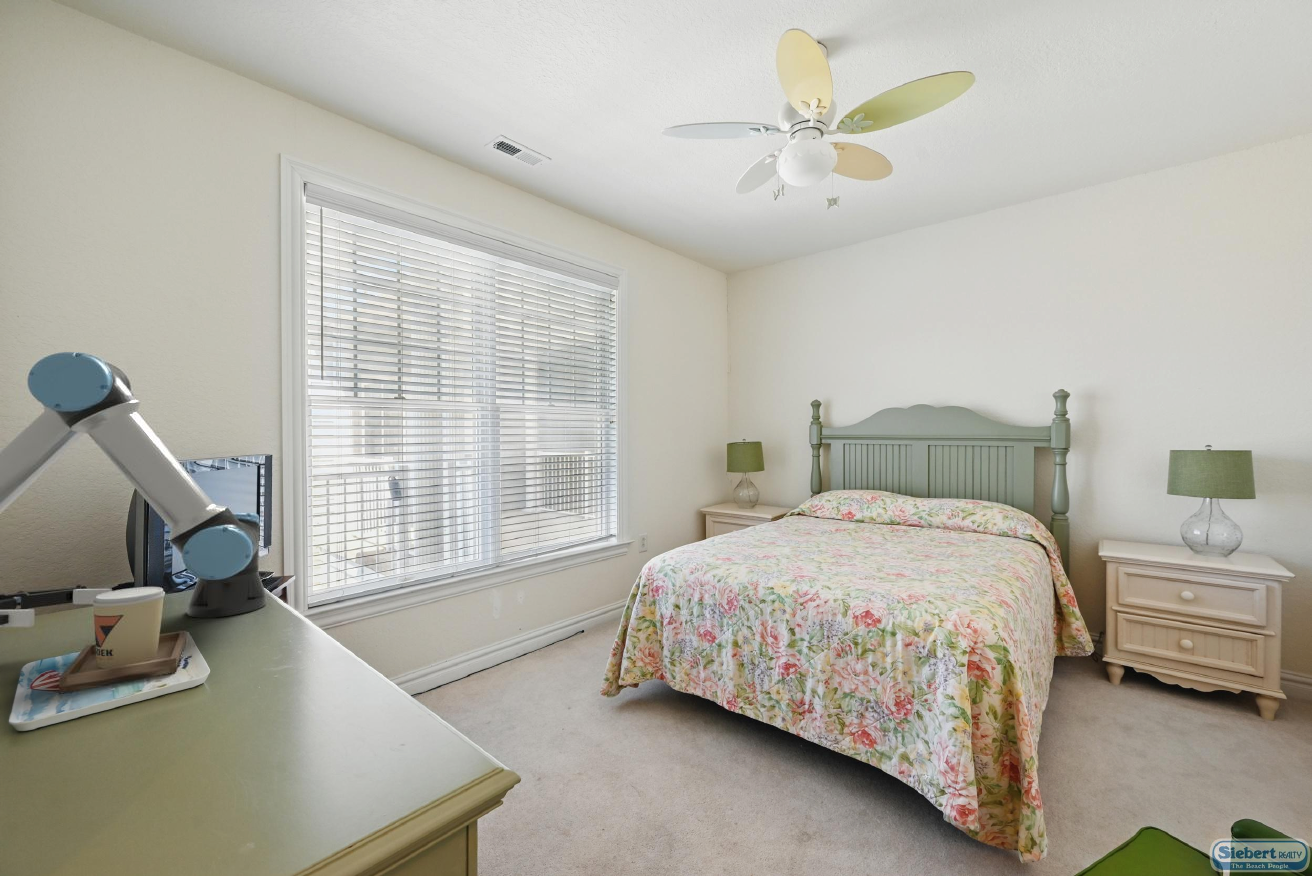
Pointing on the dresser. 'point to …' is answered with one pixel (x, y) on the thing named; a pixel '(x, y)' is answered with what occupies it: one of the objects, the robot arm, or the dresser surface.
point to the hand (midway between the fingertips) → (73, 606)
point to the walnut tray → (90, 675)
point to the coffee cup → (127, 625)
